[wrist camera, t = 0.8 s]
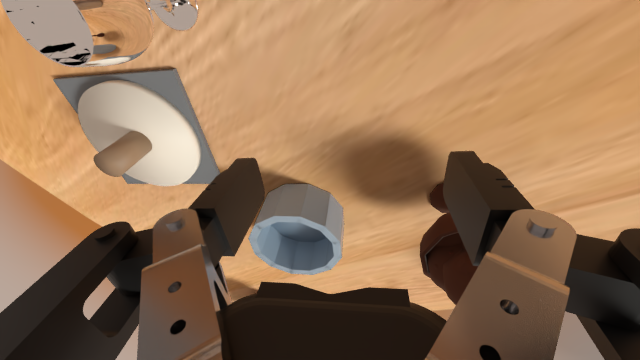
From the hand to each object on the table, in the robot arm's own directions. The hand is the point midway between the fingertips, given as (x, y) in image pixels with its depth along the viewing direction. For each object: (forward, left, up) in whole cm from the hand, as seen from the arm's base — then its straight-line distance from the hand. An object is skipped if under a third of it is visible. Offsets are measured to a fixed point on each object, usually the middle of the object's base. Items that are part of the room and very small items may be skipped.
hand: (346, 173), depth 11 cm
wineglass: (-6, -16, -18) cm, 25 cm away
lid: (+7, -26, -17) cm, 32 cm away
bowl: (+21, -8, -17) cm, 28 cm away
